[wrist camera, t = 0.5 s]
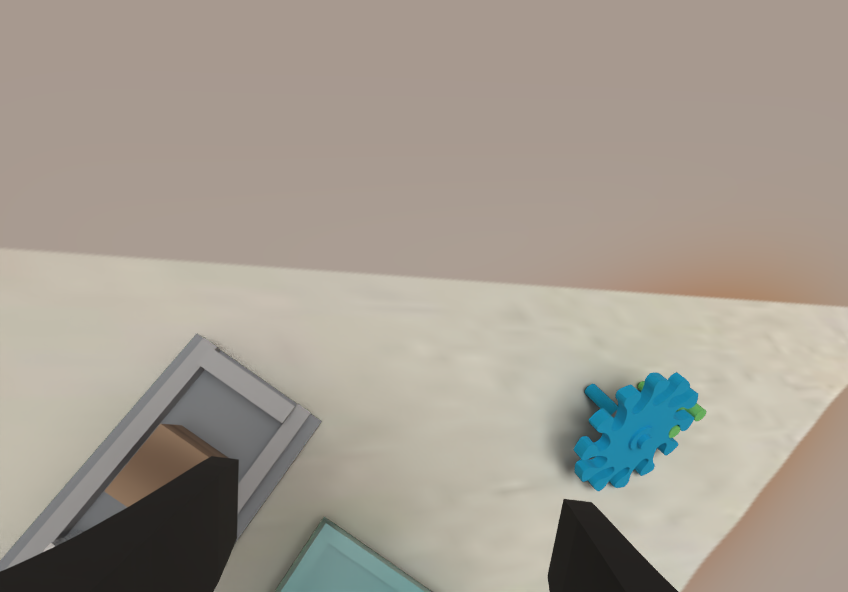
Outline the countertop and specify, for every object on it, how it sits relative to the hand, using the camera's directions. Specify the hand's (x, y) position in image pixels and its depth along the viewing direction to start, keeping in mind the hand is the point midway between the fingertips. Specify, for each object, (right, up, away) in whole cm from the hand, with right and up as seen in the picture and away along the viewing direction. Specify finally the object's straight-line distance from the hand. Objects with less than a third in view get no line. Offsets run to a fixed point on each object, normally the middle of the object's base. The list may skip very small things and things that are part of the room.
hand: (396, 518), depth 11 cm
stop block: (-14, -6, +20) cm, 25 cm away
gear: (+15, -6, +28) cm, 32 cm away
